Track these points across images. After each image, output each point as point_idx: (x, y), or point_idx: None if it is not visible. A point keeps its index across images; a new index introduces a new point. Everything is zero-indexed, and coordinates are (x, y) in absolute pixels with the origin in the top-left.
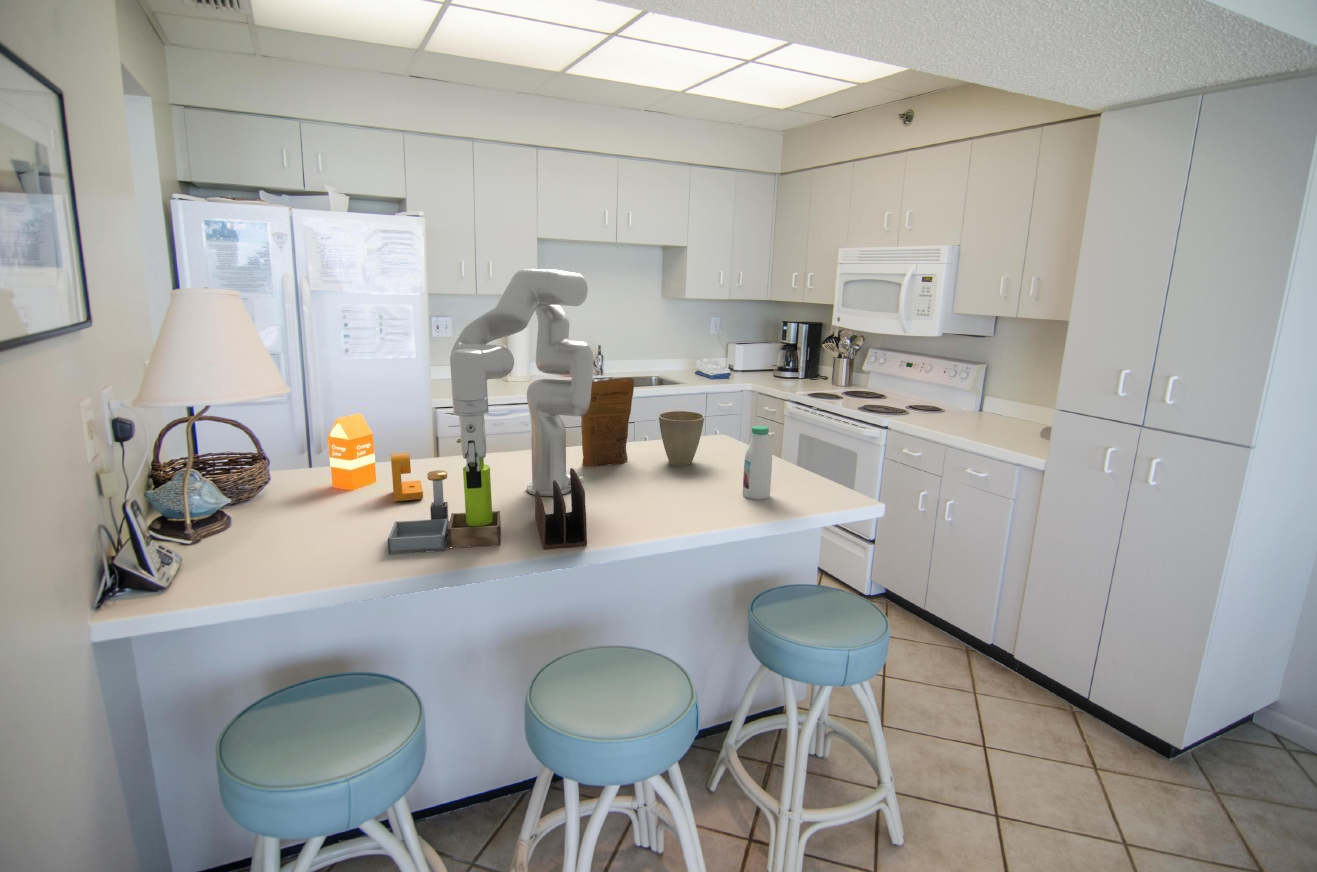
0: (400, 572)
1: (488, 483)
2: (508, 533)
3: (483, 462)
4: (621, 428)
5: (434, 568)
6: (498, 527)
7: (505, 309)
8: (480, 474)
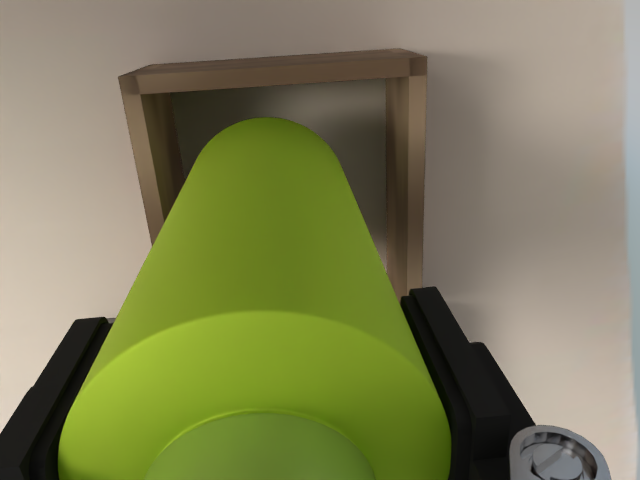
0: (588, 406)
1: (331, 229)
2: (227, 11)
3: (284, 464)
4: None
5: (591, 308)
6: (423, 66)
7: None
8: (484, 382)
